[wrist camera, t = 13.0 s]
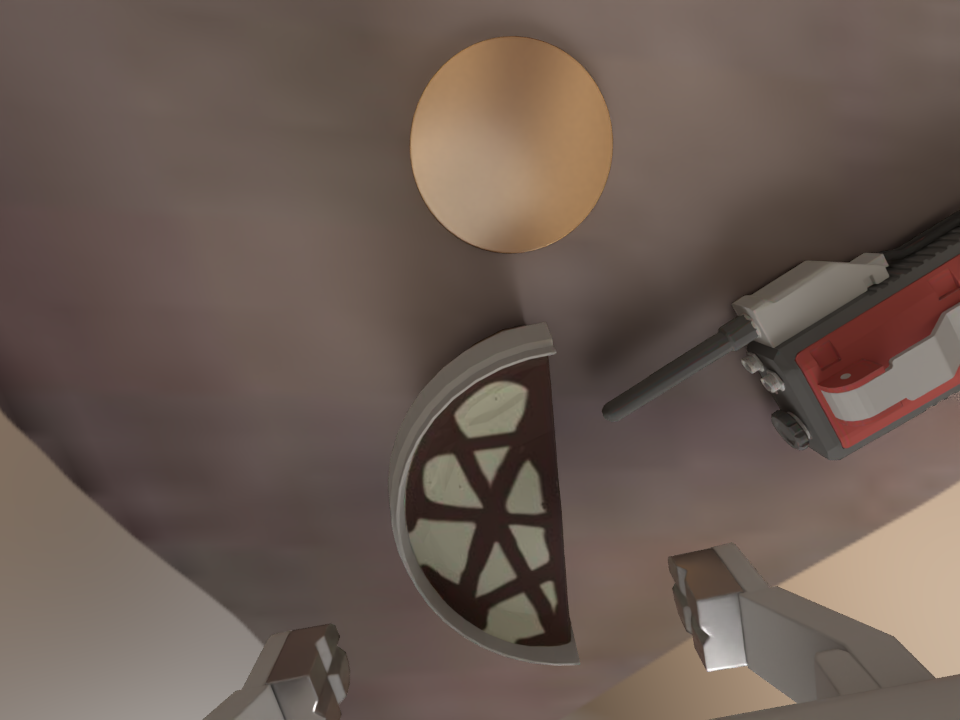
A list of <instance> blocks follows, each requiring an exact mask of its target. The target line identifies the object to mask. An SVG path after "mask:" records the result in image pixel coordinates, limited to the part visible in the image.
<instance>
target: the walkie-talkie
mask: <svg viewBox="0 0 960 720" xmlns="http://www.w3.org/2000/svg"><path fill="white" fill-rule="evenodd" d="M732 306H733V308H734V310H735V312H736V314H737V315H738V317H736V318H735V319H733V320H731V321H730V322H728V323H727V324H725V325H724V326H722V327H720V328H719V331H718V333H717V334H715V335H713V336H712V337H710V338H709V339H707V340H705V341H704V342H702V343H701V344H699V345H697V346H696V347H694V348H693V349H691V350H689V351H688V352H686V353H685V354H683V355H682V356H680V357H678V358H677V359H675V360H674V361H672V362H670V363H669V364H667V365H666V366H664V367H662V368H661V369H659V370H658V371H656V372H654V373H653V374H651V375H650V376H649V377H648V378H646V379H644V380H643V381H641V382H640V383H638V384H637V385H635V386H633V387H632V388H630V389H629V390H627V391H625V392H624V393H622V394H621V395H619V396H618V397H616V398H614V399H613V400H611V401H610V402H608V403H607V404H605V405H604V407H603V409H602V413H603V416H604V418H605V419H606V420H608V421H611V422H616V421H619V420H620V419H622V418H624V417H625V416H627V415H628V414H630V413H632V412H633V411H635V410H637V409H638V408H640V407H641V406H643V405H645V404H646V403H648V402H649V401H651V400H653V399H654V398H656V397H658V396H659V395H661V394H662V393H664V392H666V391H667V390H669V389H671V388H672V387H674V386H675V385H677V384H679V383H680V382H682V381H683V380H685V379H687V378H688V377H690V376H692V375H693V374H695V373H696V372H698V371H700V370H701V369H703V368H704V367H706V366H708V365H709V364H711V363H713V362H714V361H716V360H717V359H719V358H721V357H722V356H724V355H725V354H727V353H729V352H730V351H732V350H733V351H737V350H739V349H740V348H742V347H743V346H745V345H746V344H748V343H749V344H748V346H747V348H746V349H747V351H748V352H747V355H748V356H747V357H745V358H744V359H742V360H741V361H742V364H743V366H744V367H745V368H746V369H747V371H748V372H751V373H755V372H756V371H759V372H760V374H761V376H762V378H761V382H762V384H763V385H764V387H765V388H766V389H767V390H768V391H769V392H771V393H772V395H773V397H774V399H775V400H776V402H777V404H778V406H779V408H780V409H781V410H779V411H776V412H774V413H773V414H772V423H773V425H774V427H775V428H776V430H777V431H778V432H779V434H780V435H781V436H782V437H783V439H784V440H785V441H786V442H787V443H788V444H789V445H791V446H792V447H793V448H795V449H797V450H804V449H806V448H807V447H810V448H811V449H813V450H814V451H816V452H817V453H819V454H820V455H822V456H824V457H825V458H827V459H828V460H841V459H843V458H844V457H846V456H848V455H849V454H851V453H853V452H855V451H856V450H858V449H860V448H862V447H863V446H865V445H867V444H869V443H870V442H872V441H874V440H876V439H877V438H879V437H881V436H883V435H884V434H886V433H888V432H889V431H891V430H893V429H895V428H896V427H898V426H900V425H902V424H903V423H905V422H907V421H909V420H910V419H912V418H914V417H916V416H917V415H919V414H921V413H922V412H924V411H926V409H927V408H929V407H931V406H935V405H936V404H937V402H939V401H941V400H943V399H944V400H945V399H947V398H948V396H950V395H951V394H953V393H957V392H959V390H960V210H959V211H957V212H956V213H954V214H953V215H951V216H949V217H947V218H945V219H944V220H943V221H941V222H940V223H937V224H935V225H934V226H933V227H932V228H930V229H928V230H926V231H924V232H923V233H922V234H920V235H919V236H917V237H914V238H913V239H912V240H911V241H909V242H907V243H905V244H903V245H902V246H901V247H898V248H896V249H894V250H890V251H882V252H879V253H863V254H862V255H860V256H858V257H857V258H855V259H854V260H852V261H850V262H828V261H807V260H806V261H804V262H803V263H801V264H799V265H798V266H796V267H795V268H793V269H792V270H790V271H788V272H787V273H785V274H784V275H782V276H780V277H779V278H777V279H776V280H774V281H773V282H771V283H769V284H768V285H766V286H765V287H763V288H761V289H760V290H758V291H757V292H755V293H754V294H752V295H745V296H743V297H742V298H740V299H738V300H737V301H735V302H734V303H732Z"/></svg>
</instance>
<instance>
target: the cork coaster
mask: <svg viewBox="0 0 960 720" xmlns="http://www.w3.org/2000/svg"><path fill="white" fill-rule="evenodd" d="M612 154H613V135H612V125H611V120H610V116H609V112H608V109H607V106H606V103H605V100H604V98H603V96H602V94H601V92H600V90H599V88H598V86H597V84H596V83H595V81H594V80H593V79H592V77H591V76H590V74H589V73H588V72H587V71H586V70H585V69H584V68H583V66H582V65H581V64H580V63H579V62H577V61H576V60H575V59H574V58H573V57H571V56H570V55H569V54H568V53H566V52H564V51H563V50H561V49H559V48H558V47H556V46H554V45H551V44H549V43H547V42H544V41H541V40H537V39H533V38H528V37H520V36H505V37H497V38H492V39H487V40H484V41H481V42H478V43H475V44H473V45H471V46H470V47H468V48H466V49H464V50H462V51H460V52H459V53H458V54H456V55H455V56H453V57H452V58H451V59H449V60H448V61H447V62H446V63H445V64H444V65H443V66H442V67H441V68H440V69H439V70H438V71H437V72H436V74H435V75H434V76H433V77H432V78H431V80H430V82H429V83H428V85H427V86H426V88H425V89H424V91H423V93H422V95H421V98H420V100H419V102H418V104H417V107H416V110H415V113H414V117H413V121H412V126H411V132H410V160H411V166H412V171H413V175H414V179H415V182H416V185H417V188H418V190H419V192H420V194H421V197H422V199H423V201H424V202H425V204H426V205H427V207H428V209H429V210H430V212H431V213H432V214H433V215H434V217H435V218H436V219H437V220H438V222H439V223H441V224H442V225H443V226H444V227H445V228H446V229H447V230H448V231H449V232H451V233H452V234H453V235H455V236H456V237H457V238H459V239H461V240H462V241H464V242H466V243H468V244H470V245H472V246H475V247H478V248H480V249H483V250H487V251H492V252H498V253H522V252H528V251H533V250H536V249H540V248H543V247H546V246H548V245H550V244H552V243H554V242H556V241H558V240H560V239H561V238H563V237H564V236H566V235H568V234H569V233H570V232H571V231H572V230H574V229H575V228H576V227H577V226H578V225H579V224H580V223H581V222H582V221H583V220H584V219H585V218H586V217H587V216H588V214H589V213H590V211H591V210H592V209H593V207H594V206H595V204H596V203H597V201H598V199H599V197H600V196H601V194H602V191H603V189H604V186H605V184H606V182H607V178H608V175H609V171H610V167H611V161H612Z"/></svg>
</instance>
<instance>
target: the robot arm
mask: <svg viewBox="0 0 960 720" xmlns="http://www.w3.org/2000/svg"><path fill="white" fill-rule="evenodd" d="M668 564H669V571H670V573H671V575H672V577H673V579H674V581H675V584H674V586H673V588H672V589H673V594H674V600H675V603H676V607H677V610H678V614H679V616H680V619H681V621H682V623H683V625H684V627H685V629H686V631H687V632H688V633H690V634H692V635H693V641H694V646H695V649H696V651H697V653H698V655H699V657H700V659H701V661H702V663H703V664H704V666H705V668H706V670H707V672H710V671H716V670H722V669H729V668H736V667H742V666H748V668H749V669H751V670H752V671H753V672H755V673H756V674H757V675H759V676H760V677H762V678H763V679H764V680H766V681H767V682H769V683H770V684H771V685H773V686H774V687H776V688H777V689H778V690H780V691H781V692H782V693H784V694H785V695H787V696H788V697H790V698H791V699H792V700H794V701H795V702H797V703H798V704H792V705H786V706H781V707H775V708H770V709H764V710H759V711H754V712H748V713H742V714H737V715H731V716H726V717H721V718H715V719H710V720H960V674H958V675H953V676H947V677H942V678H935V677H934V676H933V675H932V674H931V673H930V672H929V671H928V670H927V669H926V668H925V667H924V666H923V665H922V664H921V663H920V662H919V661H918V660H917V659H916V658H915V657H914V656H913V655H912V654H911V653H910V652H909V651H908V650H907V649H906V648H905V647H904V646H903V645H902V644H901V643H900V642H899V641H898V640H897V639H896V638H895V637H894V636H891V635H889V634H887V633H884V632H882V631H880V630H877V629H875V628H873V627H871V626H868V625H866V624H863V623H861V622H859V621H856V620H854V619H852V618H849V617H847V616H845V615H843V614H840V613H838V612H835V611H833V610H831V609H829V608H826V607H824V606H822V605H819V604H817V603H815V602H812V601H810V600H807V599H805V598H803V597H801V596H798V595H796V594H794V593H791V592H789V591H787V590H784V589H782V588H780V587H778V586H776V587H770V586H769V585H768V584H767V582H766V581H765V580H764V579H763V578H762V576H761V575H760V574H759V573H758V571H757V570H756V569H755V568H754V566H753V565H752V564H751V563H750V562H749V560H748V559H747V558H746V557H745V555H744V554H743V553H742V552H741V551H740V549H739V548H738V547H737V546H736V544H734V543H728V544H723V545H719V546H714V547H711V548H709V549H704V550H699V551H694V552H689V553H684V554H679V555H674V556H670V557H668ZM339 638H340V635H339V633H338V630H337V628H336V626H335V625H333V624H325V625H319V626H314V627H308V628H302V629H296V630H293V631H286V632H281V633H276V634H273V635H272V636H270V637H269V638H268V640H267V642H266V644H265V646H264V648H263V650H262V652H261V654H260V656H259V657H258V660H257V661H256V663H255V665H254V667H253V669H252V671H251V673H250V675H249V677H248V679H247V681H246V683H245V685H244V687H243V688H242V690H238V691H235V692H234V693H233V694H232V695H231V696H229V697H228V698H227V699H226V700H225V701H224V702H222V703H221V704H220V705H219V706H218V707H217V708H216V709H214V710H213V711H212V712H211V713H210V714H209V715H207V716H206V717H205V718H204V719H203V720H340V717H341V711H340V708H339V704H340V703H341V702H342V701H343V700H344V698H345V697H346V696H347V693H348V689H349V685H350V667H349V661H348V658H347V655H346V652H345V651H343V650H342V649H341V648H339V647H338V646H337V644H338V641H339Z"/></svg>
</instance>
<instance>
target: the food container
mask: <svg viewBox="0 0 960 720" xmlns="http://www.w3.org/2000/svg"><path fill="white" fill-rule="evenodd" d="M553 354H556V350H555V348H554V347H553V341H552V337H551V334H550V332H549V329H548V327H547V324H546V322H543V323H538V324H533V325H528V326H527V325H523V326H518V327H513V328H508V329H503V330H501V331H499V332H497V333H495V334H493V335H491V336H489V337H487V338H485V339H483V340H481V341H479V342H477V343H475V344H474V345H473V346H472V347H471V348H470V349H468V350H466V351H464V352H463V353H462V354H461V355H459V356H458V357H457V358H455V359H454V360H453V361H451V362H450V363H449V364H447V365H446V366H445V367H443V368H442V369H441V370H440V371H439V372H438V373H437V374H436V376H435V377H434V378H433V379H432V380H431V381H430V382H429V383H428V384H427V385H426V386H425V387H424V388H423V389H422V391H421V392H420V394H419V395H418V397H417V398H416V400H415V401H414V403H413V404H412V406H411V407H410V408H409V410H408V412H407V414H406V416H405V418H404V420H403V422H402V425H401V427H400V429H399V431H398V433H397V436H396V440H395V443H394V447H393V451H392V454H391V458H390V467H389V477H388V492H389V504H390V514H391V523H392V530H393V534H394V538H395V541H396V545H397V549H398V553H399V555H400V557H401V559H402V562H403V564H404V566H405V568H406V571H407V573H408V575H409V576H410V578H411V579H412V581H413V583H414V585H415V586H416V588H417V589H418V591H419V592H420V594H421V595H422V597H423V598H424V600H425V601H426V603H427V604H428V605H429V606H430V607H431V609H432V610H433V611H434V612H435V613H436V614H437V615H438V616H439V617H440V618H441V619H442V620H443V621H444V622H445V623H446V624H447V625H449V626H450V627H451V628H453V629H454V630H455V631H456V632H458V633H459V634H460V635H462V636H463V637H465V638H466V639H468V640H470V641H472V642H473V643H475V644H477V645H479V646H481V647H482V648H484V649H487V650H489V651H492V652H494V653H497V654H500V655H502V656H505V657H507V658H511V659H516V660H520V661H524V662H529V663H534V664H545V665H556V666H560V665H580V661H579V656H578V652H577V648H576V643H575V639H574V635H573V630H572V626H571V621H570V617H569V609H568V597H567V583H566V570H565V557H564V543H563V526H562V511H561V500H560V490H559V480H558V468H557V455H556V442H555V429H554V417H553V405H552V392H551V381H550V371H549V360H548V355H553Z"/></svg>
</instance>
